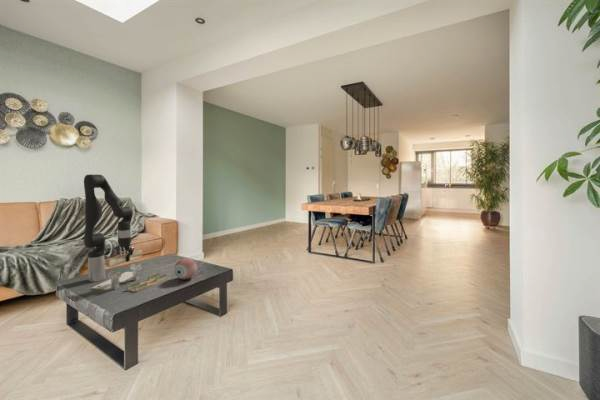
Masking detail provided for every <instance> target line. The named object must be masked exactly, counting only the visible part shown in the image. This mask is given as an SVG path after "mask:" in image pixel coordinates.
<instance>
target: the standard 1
mask: <svg viewBox="0 0 600 400" xmlns="http://www.w3.org/2000/svg"><path fill="white" fill-rule="evenodd" d="M121 274H122V271H117V272H116V271H115V270H113V271H112V270H111V271H109V272H108V279H111V288H110V289H111V290H114V291H116V290H117V289H120V283H119V278H120V277H121Z"/></svg>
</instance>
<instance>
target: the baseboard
mask: <svg viewBox="0 0 600 400" xmlns="http://www.w3.org/2000/svg"><path fill="white" fill-rule="evenodd" d="M131 278H133V273H132V271H125V272H123V273H121V277H120V278H119V284H121V283H124V282H125V281H127V280H129V279H131ZM90 287H91V290H106V291H107V290H109V289H112V288H111V278H109V279H108V280H105V281H103V282H101V283H99V284H97V285H94V286H90Z"/></svg>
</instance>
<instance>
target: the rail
mask: <svg viewBox="0 0 600 400" xmlns="http://www.w3.org/2000/svg"><path fill="white" fill-rule="evenodd" d="M127 254H128V253H127ZM142 257H143V250H142V249H134V251H133V254H132V255H130V261H132V260H136V259H138V258H142ZM123 263H127V262H126V254H125V253H124V254H122V255H116V256H113V257H109V258H106V259H105V267H110V268H111V267H112V268H113V267H115V266H117V265H120V264H123Z"/></svg>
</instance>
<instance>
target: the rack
mask: <svg viewBox="0 0 600 400" xmlns="http://www.w3.org/2000/svg"><path fill="white" fill-rule="evenodd" d="M166 279H168V276H167V273H162V274H160V273H159V272H156V273H154V274H151V275H149V276H147V280H145V281H143V282H140V280H137V281H134V282H133V283H131V284H129V285H127V286H126V289H125V291H126V292H133V293H138V292H140V291H142V290H144V289H145V290H146V289H147V288H149V287H151V286H153V285H155V284H157V283H159V282H162V281H163V280H166Z"/></svg>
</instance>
